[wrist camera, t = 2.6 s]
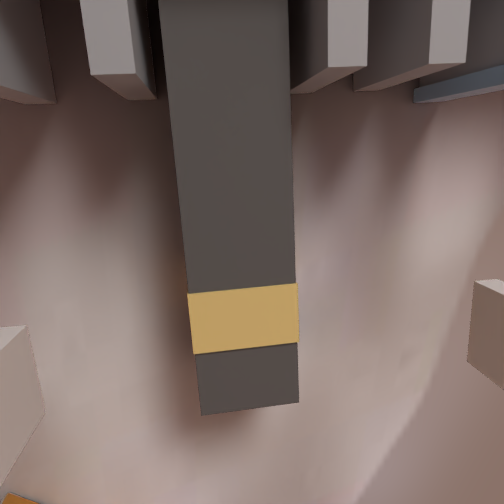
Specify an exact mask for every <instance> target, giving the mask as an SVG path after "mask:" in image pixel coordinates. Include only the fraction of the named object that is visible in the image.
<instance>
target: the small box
mask: <svg viewBox="0 0 504 504" xmlns="http://www.w3.org/2000/svg"><path fill="white" fill-rule="evenodd" d="M0 504H39V503H36V502H33V501H30V500H27V499H24V498H22V497H21V496H19V495H16V494H13V493H7V494H6V495H5V496H4V498H3V499H2V501H1V503H0Z"/></svg>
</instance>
